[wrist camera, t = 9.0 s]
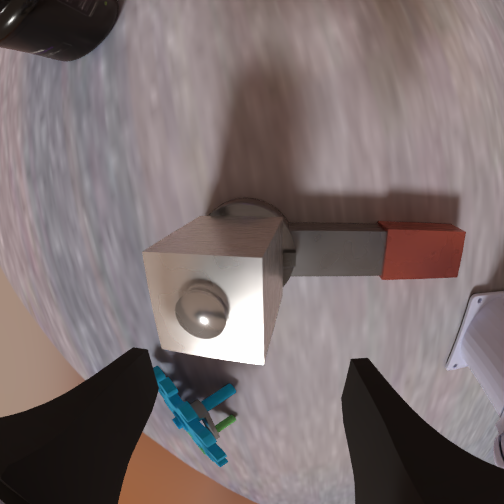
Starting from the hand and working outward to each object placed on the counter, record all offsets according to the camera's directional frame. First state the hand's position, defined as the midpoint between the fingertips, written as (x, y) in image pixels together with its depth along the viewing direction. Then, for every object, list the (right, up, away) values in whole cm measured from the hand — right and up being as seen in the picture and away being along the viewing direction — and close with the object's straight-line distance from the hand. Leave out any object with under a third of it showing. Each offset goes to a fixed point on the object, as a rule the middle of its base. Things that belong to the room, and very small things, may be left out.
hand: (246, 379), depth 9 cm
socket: (0, +4, +7) cm, 8 cm away
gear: (-5, -8, +15) cm, 17 cm away
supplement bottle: (-13, +22, +5) cm, 26 cm away
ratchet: (+6, +5, +9) cm, 11 cm away
